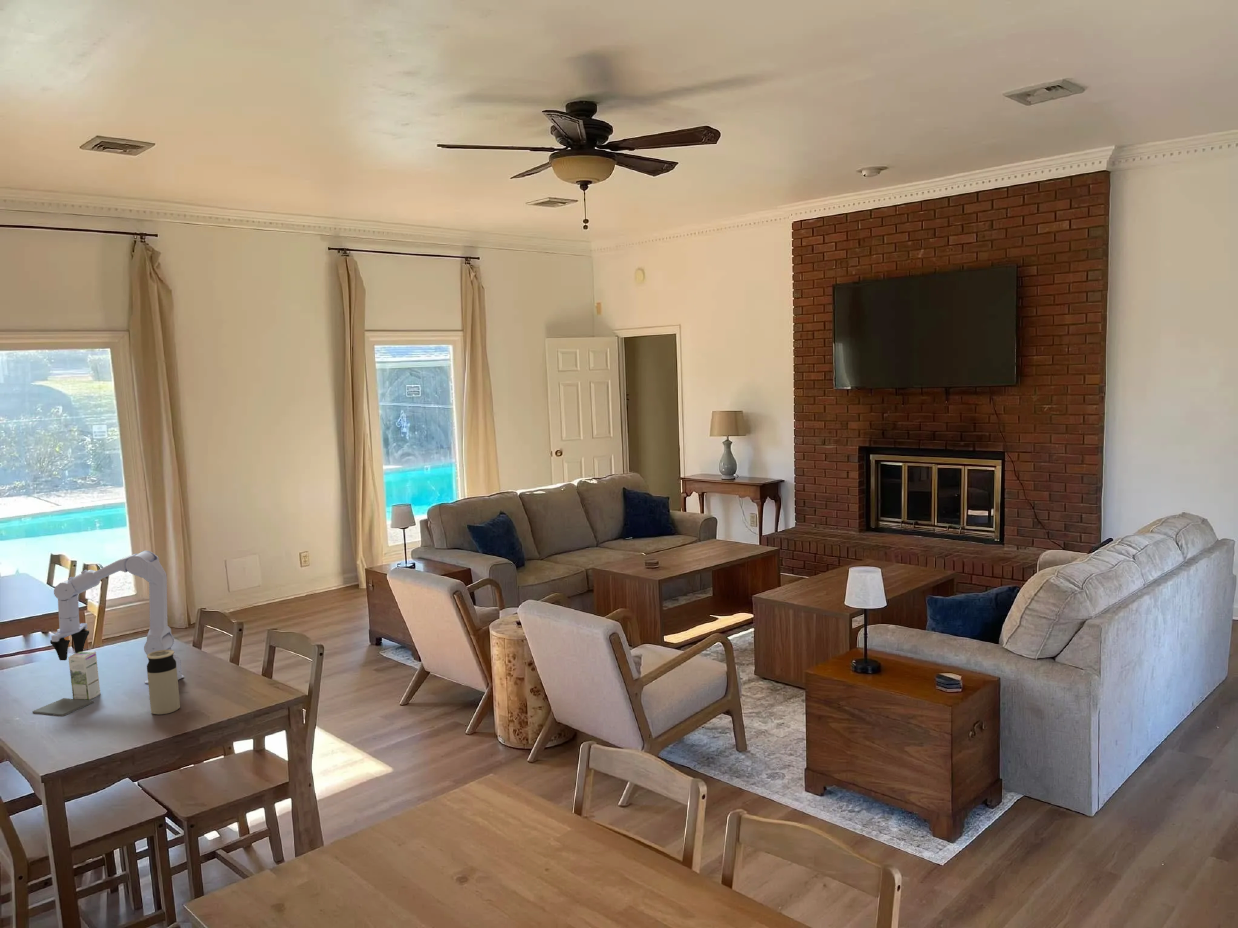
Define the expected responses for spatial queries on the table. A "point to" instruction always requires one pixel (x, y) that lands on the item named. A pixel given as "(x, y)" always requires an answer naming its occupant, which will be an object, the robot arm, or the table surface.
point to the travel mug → (163, 682)
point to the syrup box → (84, 675)
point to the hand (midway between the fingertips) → (71, 656)
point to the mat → (63, 706)
